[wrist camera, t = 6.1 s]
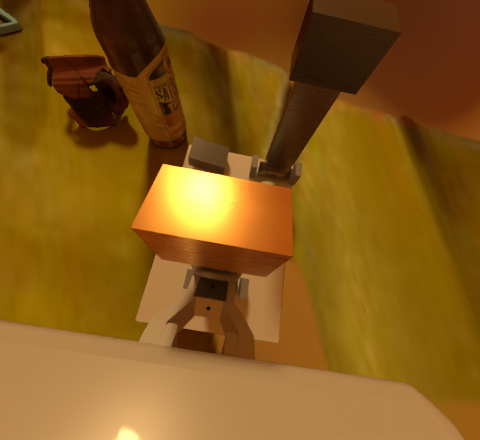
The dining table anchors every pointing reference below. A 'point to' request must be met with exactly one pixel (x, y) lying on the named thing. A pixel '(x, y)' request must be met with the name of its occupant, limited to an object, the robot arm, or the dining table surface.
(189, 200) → the lever orange
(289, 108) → the lever black
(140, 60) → the sauce bottle
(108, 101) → the pottery mug
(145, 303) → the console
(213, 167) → the block
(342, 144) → the dining table surface
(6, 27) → the chair
